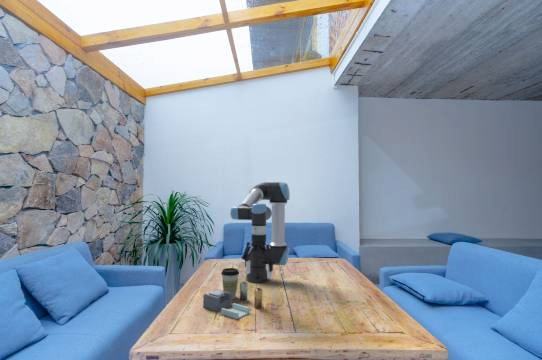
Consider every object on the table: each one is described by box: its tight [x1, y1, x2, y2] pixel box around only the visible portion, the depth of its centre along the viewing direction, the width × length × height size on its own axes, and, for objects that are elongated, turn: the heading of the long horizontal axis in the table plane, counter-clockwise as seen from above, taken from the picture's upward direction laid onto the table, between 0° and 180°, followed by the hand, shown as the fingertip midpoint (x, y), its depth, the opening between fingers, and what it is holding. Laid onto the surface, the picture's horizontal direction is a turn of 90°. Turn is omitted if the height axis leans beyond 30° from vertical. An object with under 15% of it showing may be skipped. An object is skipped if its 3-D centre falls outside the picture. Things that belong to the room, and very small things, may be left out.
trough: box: [220, 302, 251, 320], centre depth 151 cm, size 9×10×3 cm
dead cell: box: [239, 281, 248, 302], centre depth 170 cm, size 4×4×10 cm
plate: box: [208, 289, 226, 297], centre depth 160 cm, size 6×6×2 cm
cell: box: [253, 287, 263, 310], centre depth 159 cm, size 4×4×10 cm
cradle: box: [202, 288, 232, 313], centre depth 160 cm, size 10×10×6 cm
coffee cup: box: [221, 267, 240, 300], centre depth 174 cm, size 10×10×15 cm
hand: (258, 275), depth 159 cm, fingers open, 13 cm apart
